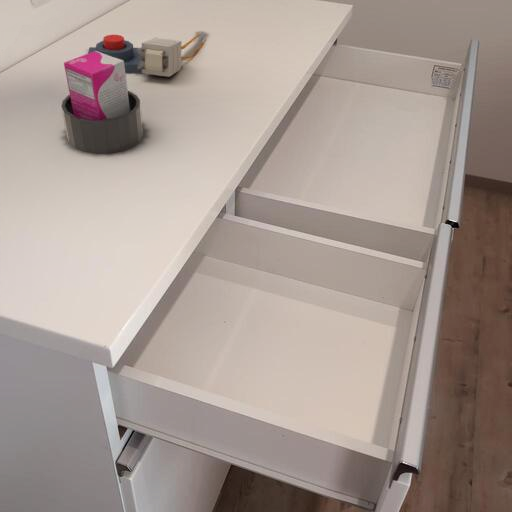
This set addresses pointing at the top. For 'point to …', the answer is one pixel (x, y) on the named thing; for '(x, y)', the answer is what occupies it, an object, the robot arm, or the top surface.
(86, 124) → the dark grey round bin
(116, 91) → the supplement box
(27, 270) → the top surface
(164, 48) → the electrical component
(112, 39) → the power button
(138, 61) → the button housing
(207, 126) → the top surface
